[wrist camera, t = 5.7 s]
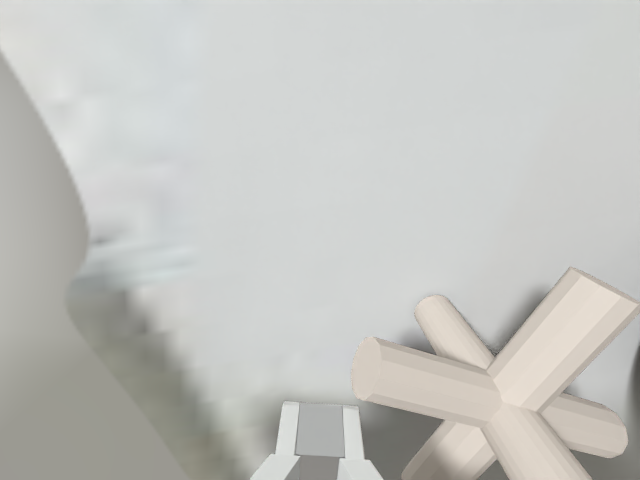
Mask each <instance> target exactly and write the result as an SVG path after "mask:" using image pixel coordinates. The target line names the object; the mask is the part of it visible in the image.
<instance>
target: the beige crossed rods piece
mask: <svg viewBox="0 0 640 480" xmlns="http://www.w3.org/2000/svg"><path fill="white" fill-rule="evenodd" d="M639 313H640V302H638V301H637V300H635V299H633V298H632V297H630V296H628V295H627V294H625V293H623V292H621V291H619V290H618V289H616V288H614V287H612V286H610V285H608V284H607V283H605V282H603V281H601V280H599V279H597V278H595V277H593V276H591V275H589V274H587V273H585V272H582V271H580V270H578V269H576V268H573V267H569V268H568V270H567V271H566V272H565V273H564V275H563V276H562V277H561V278H560V279H559V281H558V282H557V283H556V284H555V286H554V287H553V288H552V289H551V290H550V292H549V293H548V294H547V295H546V296H545V298H544V299H543V300H542V301H541V303H540V304H539V305H538V306H537V307H536V309H535V310H534V311H533V312H532V313H531V315H530V316H529V317H528V318H527V320H526V321H525V322H524V323H523V324H522V326H521V327H520V328H519V329H518V331H517V332H516V333H515V334H514V335H513V337H512V338H511V339H510V340H509V341H508V343H507V344H506V345H505V346H504V348H503V349H502V350H501V351H500V352H499V354H498V355H497V356H496V357H494V356H493V354H492V353H491V352H490V351H489V349H488V348H487V347H486V346H485V345H484V343H483V342H482V341H481V340H480V338H479V337H478V336H477V335H476V333H475V332H474V331H473V330H472V328H471V327H470V326H469V325H468V323H467V322H466V321H465V320H464V318H463V317H462V316H461V315H460V313H459V312H458V311H457V310H456V308H455V307H454V306H453V305H452V304H451V302H450V301H449V300H448V299H447V298H446V297H444V296H441V295H432V296H428V297H426V298H424V299H423V300H422V301H420V302H419V304H418V305H417V306H416V309H415V313H414V314H415V318H416V320H417V322H418V324H419V325H420V327H421V329H422V331H423V332H424V334H425V336H426V338H427V339H428V341H429V343H430V344H431V346H432V348H433V350H434V351H435V353H436V355H433V354H430V353H426V352H423V351H420V350H416V349H413V348H410V347H406V346H403V345H399V344H396V343H393V342H389V341H386V340H382V339H379V338H376V337H366V338H365V339H364V340H363V341H362V342H361V344H360V345H359V346H358V349H357V351H356V354H355V356H354V359H353V365H352V371H351V381H352V389H353V391H354V394H355V396H356V398H358V399H361V400H364V401H368V402H373V403H377V404H381V405H385V406H389V407H394V408H398V409H402V410H406V411H411V412H415V413H419V414H423V415H428V416H432V417H436V418H440V419H444V421H443V422H442V423H441V424H440V425H439V427H438V428H437V429H436V430H435V431H434V433H433V434H432V435H431V436H430V438H429V439H428V440H427V441H426V442H425V444H424V445H423V446H422V447H421V449H420V450H419V451H418V452H417V453H416V455H415V456H414V457H413V458H412V459H411V461H410V462H409V463H408V464H407V466H406V467H405V468H404V470H403V472H402V474H401V479H402V480H477V479H478V478H479V477H480V476H481V475H482V474H483V473H484V472H485V471H486V470H487V469H488V468H489V467H490V466H491V465H492V464H493V462H494V461H495V460H496V459H498V461H499V463H500V464H501V466H502V468H503V470H504V471H505V473H506V475H507V476H508V478H509V480H593V479H592V477H591V476H590V475H589V474H588V472H587V471H586V470H585V469H584V467H583V466H582V465H581V464H580V462H579V461H578V460H577V459H576V457H575V456H574V455H573V454H572V453H571V451H570V450H569V449H571V450H576V451H580V452H584V453H588V454H592V455H597V456H601V457H605V458H609V459H610V458H613V457H616V456H619V455H621V454H623V452H624V450H625V448H626V446H627V444H628V437H627V431H626V427H625V425H624V424H623V422H622V421H621V420H620V418H619V417H618V415H617V414H616V413H615V412H613V411H612V410H610V409H609V408H607V407H606V406H604V405H602V404H599V403H596V402H592V401H589V400H586V399H582V398H579V397H576V396H572V395H569V394H565V393H562V392H563V391H564V390H565V389H566V388H567V387H568V386H569V385H570V384H571V383H572V382H573V381H574V379H575V378H576V377H577V376H578V375H579V374H580V373H581V372H582V371H583V370H584V369H585V368H586V367H587V366H588V365H589V364H590V363H591V362H592V361H593V360H594V359H595V358H596V357H597V356H598V355H599V354H600V353H601V352H602V351H603V350H604V349H605V348H606V347H607V346H608V345H609V344H610V343H611V342H612V341H613V340H614V339H615V337H616V336H617V335H618V334H619V333H620V332H621V331H622V330H623V329H624V328H625V327H626V326H627V325H628V324H629V323H630V322H631V321H632V320H633V319H634V318H635V317H636V316H637V315H638V314H639Z"/></svg>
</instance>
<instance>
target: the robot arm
mask: <svg viewBox="0 0 640 480" xmlns="http://www.w3.org/2000/svg"><path fill="white" fill-rule="evenodd" d="M250 480H384V479H383V478H382V476H381V475H380V473H379V472H378V471H377V469H376V468H375V466H374V465H373V463H372V462H371V461H370V460H365V455H364V446H363V438H362V429H361V420H360V412H359V408H358V406H352V405H342V406H341V404H321V403H304V402H291V401H284V403H283V406H282V412H281V419H280V425H279V432H278V438H277V445H276V452H275V454H270V455H269V456H268V457H267V458H266V460H265V461H264V462H263V463H262V465H261V466H260V467H259V468H258V470H257V471H256V472H255V473H254V475H253V476H252V477H251V478H250Z"/></svg>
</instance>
